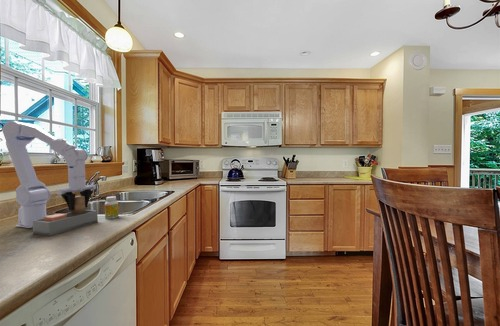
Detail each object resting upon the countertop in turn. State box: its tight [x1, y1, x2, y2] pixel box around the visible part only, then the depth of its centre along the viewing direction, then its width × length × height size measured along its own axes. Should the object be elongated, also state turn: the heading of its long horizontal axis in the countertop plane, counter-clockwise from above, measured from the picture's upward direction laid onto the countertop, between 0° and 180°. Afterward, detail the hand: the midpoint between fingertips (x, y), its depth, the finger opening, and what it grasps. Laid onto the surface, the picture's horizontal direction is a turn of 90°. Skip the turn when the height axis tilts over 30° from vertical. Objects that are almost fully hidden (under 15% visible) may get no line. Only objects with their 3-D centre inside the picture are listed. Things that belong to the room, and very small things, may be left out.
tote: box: [32, 209, 99, 237], centre depth 91 cm, size 9×18×5 cm, turn 161°
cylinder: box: [70, 195, 87, 214], centre depth 95 cm, size 5×5×7 cm
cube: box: [44, 213, 67, 222], centre depth 87 cm, size 5×5×5 cm
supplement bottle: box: [104, 195, 119, 220], centre depth 105 cm, size 5×5×10 cm
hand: (78, 208), depth 95 cm, fingers closed on cylinder, 5 cm apart
